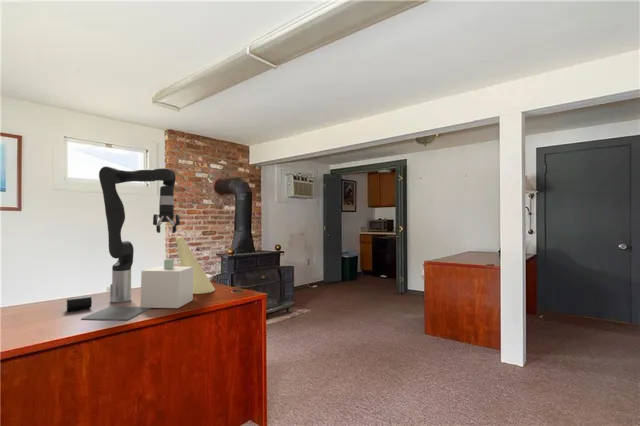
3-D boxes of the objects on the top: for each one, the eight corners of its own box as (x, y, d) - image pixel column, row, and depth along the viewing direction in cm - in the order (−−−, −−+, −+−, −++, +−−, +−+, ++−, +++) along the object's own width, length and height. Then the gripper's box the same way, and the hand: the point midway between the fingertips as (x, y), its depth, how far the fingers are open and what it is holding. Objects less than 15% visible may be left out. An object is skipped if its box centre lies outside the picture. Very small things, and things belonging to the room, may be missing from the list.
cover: (140, 307, 181) (141, 260, 182) (158, 299, 201) (159, 257, 201) (178, 308, 181) (179, 261, 181) (192, 299, 200) (193, 257, 201)
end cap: (67, 313, 171) (67, 299, 171) (65, 310, 177) (65, 297, 177) (91, 310, 178) (91, 296, 178) (89, 307, 183) (89, 294, 183)
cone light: (208, 286, 238) (209, 234, 238) (219, 291, 224) (220, 235, 224) (170, 291, 223) (171, 235, 223) (180, 296, 208) (180, 237, 209)
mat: (80, 319, 161) (80, 318, 161) (109, 307, 183) (109, 306, 183) (127, 320, 161) (127, 319, 161) (151, 307, 182) (151, 306, 182)
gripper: (150, 203, 195) (150, 233, 195) (176, 204, 195) (176, 233, 195) (157, 204, 203) (157, 232, 203) (181, 204, 203) (181, 232, 202)
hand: (166, 232), depth 199 cm, fingers open, 8 cm apart
